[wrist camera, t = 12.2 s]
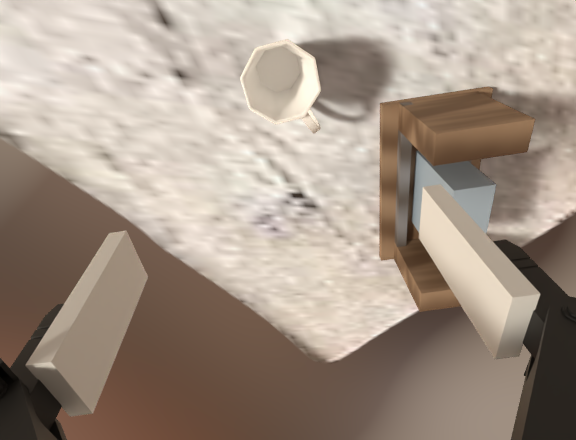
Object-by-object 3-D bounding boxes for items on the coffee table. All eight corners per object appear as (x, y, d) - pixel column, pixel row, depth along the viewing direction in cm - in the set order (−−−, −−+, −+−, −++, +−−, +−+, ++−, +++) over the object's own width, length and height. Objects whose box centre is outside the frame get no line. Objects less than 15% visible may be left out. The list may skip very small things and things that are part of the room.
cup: (285, 13, 35) (290, 18, 28) (339, 97, 39) (354, 120, 32) (230, 60, 37) (222, 75, 30) (287, 135, 41) (292, 163, 34)
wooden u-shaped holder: (380, 103, 40) (415, 137, 31) (488, 86, 40) (556, 115, 30) (379, 256, 52) (404, 313, 42) (462, 244, 51) (506, 299, 42)
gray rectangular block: (415, 150, 42) (453, 190, 34) (449, 145, 42) (496, 184, 34) (411, 221, 47) (443, 270, 39) (441, 216, 47) (479, 265, 39)
